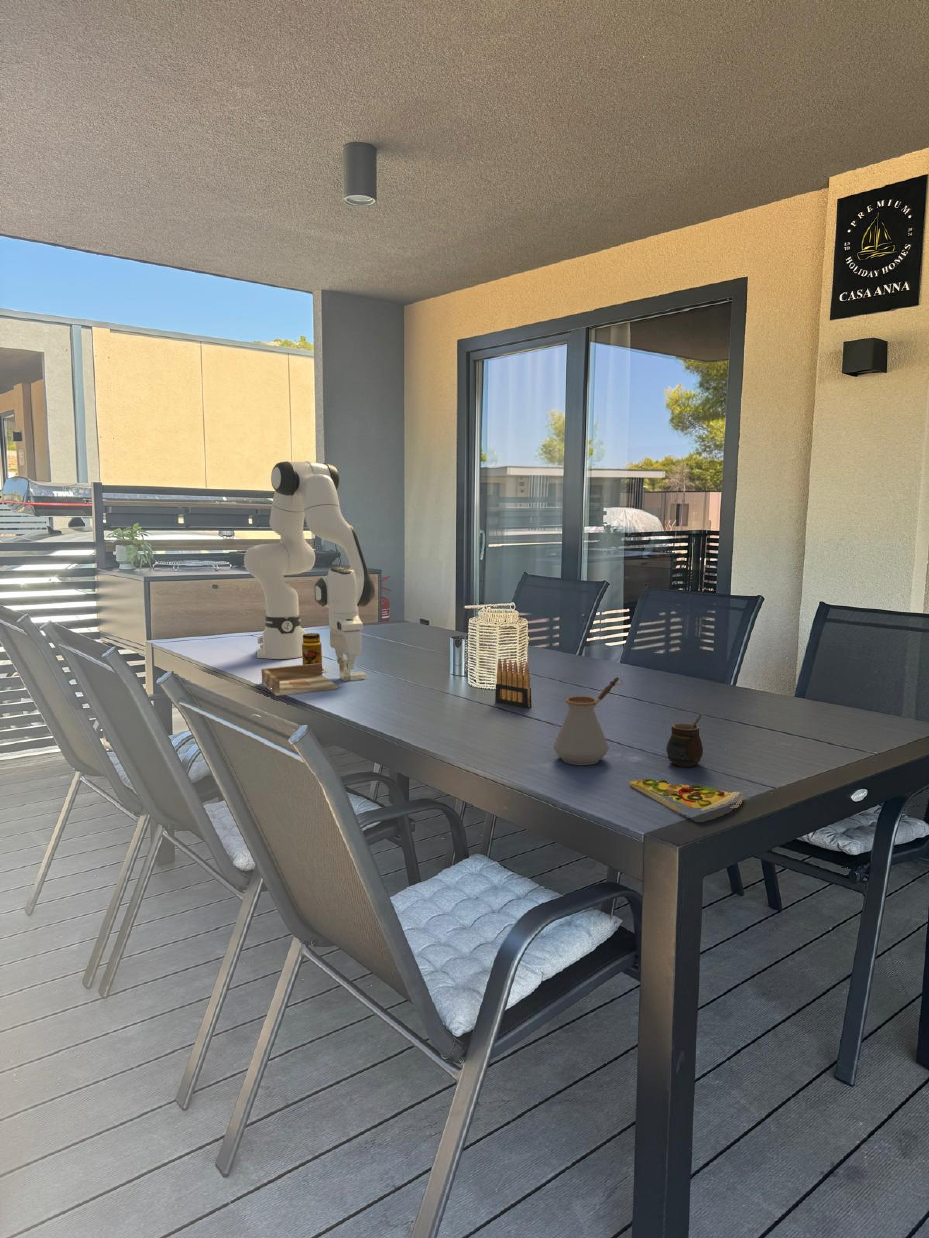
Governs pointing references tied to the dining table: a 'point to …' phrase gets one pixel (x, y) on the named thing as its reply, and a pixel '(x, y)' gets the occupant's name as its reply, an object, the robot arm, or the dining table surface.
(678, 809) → the pizza slice
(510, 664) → the ammunition clip
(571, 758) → the coffee pot
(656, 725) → the dining table surface
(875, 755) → the dining table surface
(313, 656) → the condiment
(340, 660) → the bracket
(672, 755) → the mate gourd
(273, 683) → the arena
